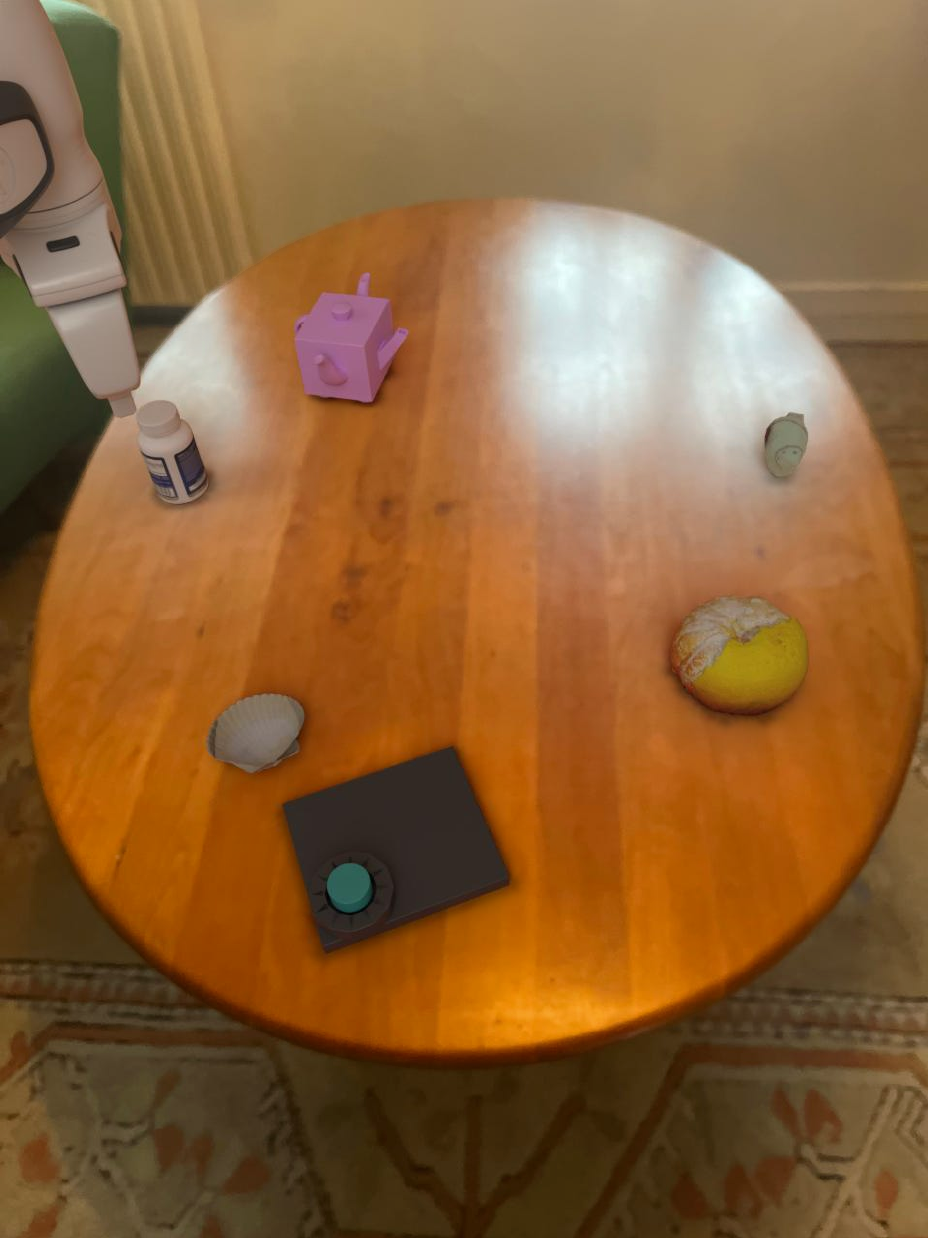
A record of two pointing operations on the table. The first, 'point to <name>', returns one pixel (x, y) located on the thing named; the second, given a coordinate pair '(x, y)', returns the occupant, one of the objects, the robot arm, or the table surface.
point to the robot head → (785, 443)
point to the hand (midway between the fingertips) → (113, 380)
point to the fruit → (740, 655)
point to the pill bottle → (170, 453)
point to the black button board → (395, 845)
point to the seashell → (257, 732)
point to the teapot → (347, 344)
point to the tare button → (349, 887)
